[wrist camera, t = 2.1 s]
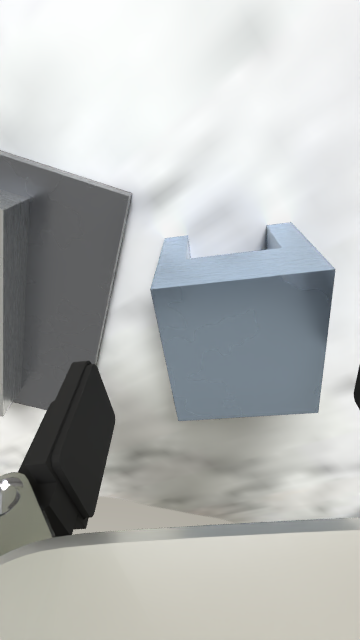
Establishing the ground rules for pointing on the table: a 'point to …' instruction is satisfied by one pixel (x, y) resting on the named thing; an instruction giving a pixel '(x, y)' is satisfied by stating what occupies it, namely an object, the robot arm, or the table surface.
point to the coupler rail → (53, 274)
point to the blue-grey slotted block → (244, 326)
